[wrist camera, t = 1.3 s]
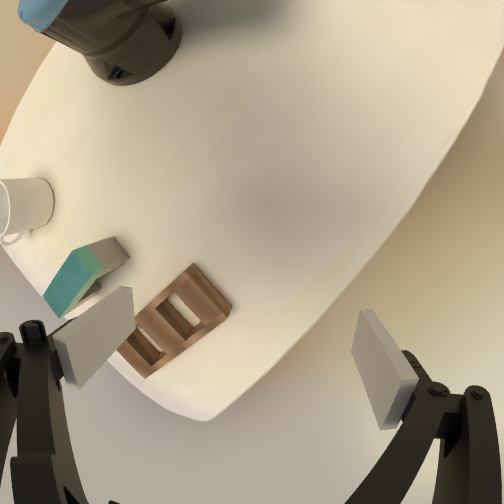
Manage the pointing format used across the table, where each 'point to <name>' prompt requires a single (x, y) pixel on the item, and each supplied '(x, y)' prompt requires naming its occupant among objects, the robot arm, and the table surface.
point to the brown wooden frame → (174, 322)
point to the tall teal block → (83, 274)
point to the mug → (23, 206)
